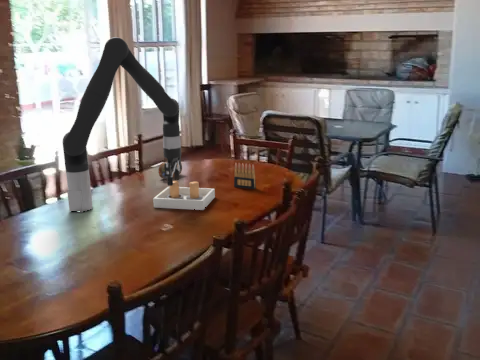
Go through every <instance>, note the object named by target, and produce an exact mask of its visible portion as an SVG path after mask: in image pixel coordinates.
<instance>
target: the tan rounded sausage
mask: <svg viewBox="0 0 480 360" xmlns="http://www.w3.org/2000/svg"><path fill="white" fill-rule="evenodd" d="M179 181H180V180H173V185H172V186H169V187H170V198H179V187H180V183H179Z"/></svg>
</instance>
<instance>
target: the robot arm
mask: <svg viewBox="0 0 480 360" xmlns="http://www.w3.org/2000/svg"><path fill="white" fill-rule="evenodd" d="M119 67H122V68H123V69H124V70H125V71H126V72H127V73H128V74H129V75H130V77H131V78H132V79H133V80H134V82H135V83H136V84H137V85H138V87H139V88H140V89H141V90H142V91H143V92H144V93H145V94H146V96H147V97H148V98H149V99H150V100H151V101H153V103H154V104H155V106H156V107H157V108H158V110H159V111H160V113H162V117H163V125H162V135H163V136H162V151H163V158H165V159H167V161H166V162H167V163H165V162H163V163H164V170H165V177H167V179H166V181H167V187H170V186H172V185H173V181H180V179H181V177H180V175H181V174H179V172H180V169H181V164H182V161H181V160H182V158H181V157H182V144H181V143H182V141H181V135H180V134H181V131H180V105H179V102H178V100H176V99H174V98H171V96H170V95H169V94H168V93H167V92H166V91H165V88H164V87H163V86H162V84H161V83H160V82H159V81H158V80H157V79H156V78H155V77H154V76H153V75H152V74H151V73H150V72H149V71H148V69H146V68H145V67H144V66H143V65H142V64H141V63H140V62H139V61H138V59H137V58H136V57H135V55H134V54H133V53H132V51H131V49H130V48H129V46H128V44H127V42H126V41H125V40H124V39H123V38H120V37H118V36H115V37H110V38H109V39H108V40H107V41H106V42H105V44H104V48H103V50H102V54H101V57H100V60H99V63H98V65H97V67H96V69H95V71H94V73H93V74H92V76H91V78H90V80H89V81H88V84H87V86H86V89H85V91H84V93H83V95H82V97H81V100H80V103H79V107H78V110H77V114H76V118H75V120H74V123H73V124H72V127H70V128H71V129H70V130H69V131H68V132H67V133H65V135H64V136H63V138H62V149H63V158H64V167H65V174H66V175H65V176H66V183H67V184H66V185H67V201H68V208H69V212H70V211H80V212H79V213H84V212H83V211H85V212H88V211H87V210H89V211H90V209H91V210H92V209H93V207H94V206H93V197H92V189H91V179H90V178H91V177H90V167H89V161H88V160H89V159H88V150H87V145H88V142H89V138H90V135H91V133H92V131H93V128H94V126H95V125H96V122H97V121H98V119H99V117H100V115H101V113H102V111H103V109H104V107H105V105H106V104H107V101H108V98H109V96H110V93H111V91H112V87H113V82H114V79H115V76H116V73H117V71H118V69H119ZM173 173H174V177H173Z"/></svg>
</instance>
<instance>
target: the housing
mask: <svg viewBox="0 0 480 360" xmlns="http://www.w3.org/2000/svg"><path fill="white" fill-rule="evenodd" d="M188 184H189V187H185V186H179V198H170V186H167V187H165V188H164V189H163V190H162V191H161V192H159V193H158V194H157V195H156V196H154V197H153V198H152V201H153V208H156V209H157V208H161V209H179V210H194V209H195V210H196V211H199V210H200V211H204V210H205V209H206V208H207V207H208V205H209V204H210V203H211V202H212V201H213V200H214V199H215V198H216V196H215V195H216V192H215V188H207V187H200V185H199V181H190V182H189V183H188ZM205 207H206V208H205ZM195 210H194V211H195Z"/></svg>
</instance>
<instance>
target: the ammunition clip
mask: <svg viewBox="0 0 480 360" xmlns="http://www.w3.org/2000/svg"><path fill="white" fill-rule="evenodd" d="M256 181H257V180H256V170H255V164H254V163H252V165H251V163H247V162H246V163H245V165H244V163H243V162H242V164H241V163H240V162H238V163H237V162H235V164H234V180H233V186H234V188H239V189H240V188H241V189H249V190H255V189H256V188H257V182H256Z"/></svg>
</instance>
